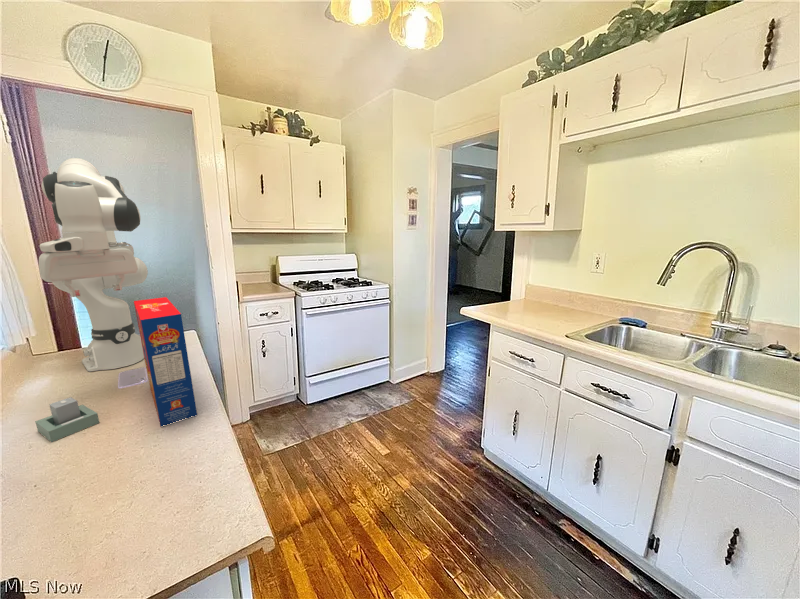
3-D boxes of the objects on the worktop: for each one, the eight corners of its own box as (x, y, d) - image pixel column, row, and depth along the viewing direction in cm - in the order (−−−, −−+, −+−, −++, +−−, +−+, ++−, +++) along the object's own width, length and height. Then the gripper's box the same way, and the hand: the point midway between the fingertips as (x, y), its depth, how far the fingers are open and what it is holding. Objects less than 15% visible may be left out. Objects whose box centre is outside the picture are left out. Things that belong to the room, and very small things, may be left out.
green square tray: (37, 431, 83) (35, 420, 82) (84, 413, 90) (82, 404, 90) (51, 442, 78) (48, 431, 78) (99, 422, 86) (97, 412, 85)
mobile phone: (145, 365, 120) (147, 380, 109) (146, 368, 120) (148, 382, 109) (118, 371, 116) (117, 387, 104) (119, 374, 116) (118, 390, 104)
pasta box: (150, 388, 105) (133, 301, 99) (180, 380, 110) (166, 297, 104) (160, 427, 84) (140, 320, 78) (197, 415, 89) (181, 313, 83)
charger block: (54, 426, 83) (49, 403, 82) (76, 418, 87) (70, 396, 86) (61, 430, 82) (55, 407, 80) (82, 422, 85) (77, 400, 84)
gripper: (126, 241, 101) (135, 286, 104) (30, 245, 84) (43, 299, 87) (137, 241, 98) (145, 288, 101) (39, 245, 81) (52, 301, 84)
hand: (97, 293), depth 94 cm, fingers open, 8 cm apart
